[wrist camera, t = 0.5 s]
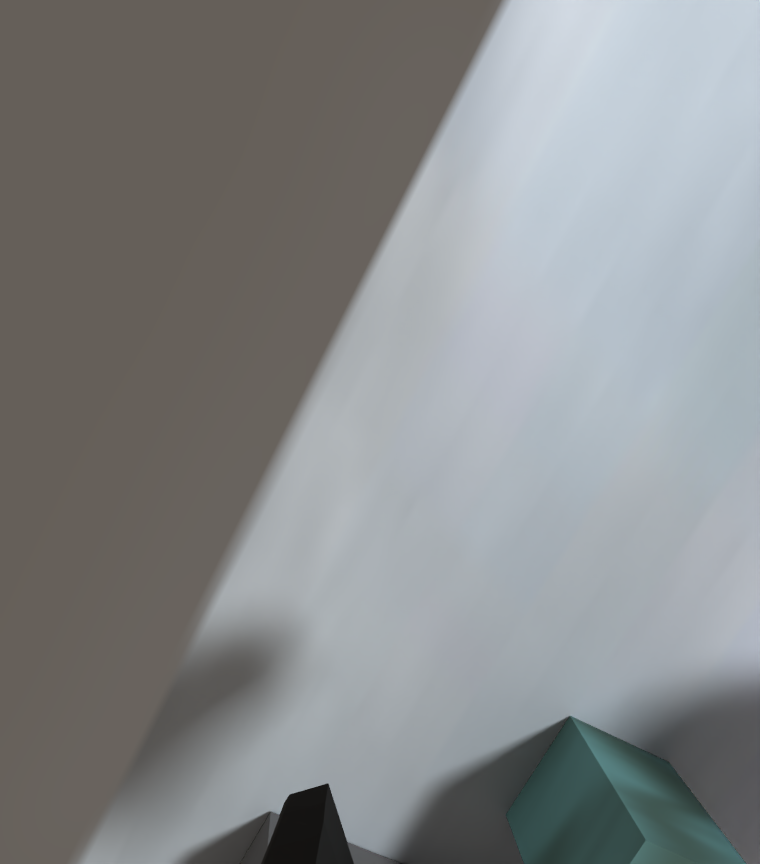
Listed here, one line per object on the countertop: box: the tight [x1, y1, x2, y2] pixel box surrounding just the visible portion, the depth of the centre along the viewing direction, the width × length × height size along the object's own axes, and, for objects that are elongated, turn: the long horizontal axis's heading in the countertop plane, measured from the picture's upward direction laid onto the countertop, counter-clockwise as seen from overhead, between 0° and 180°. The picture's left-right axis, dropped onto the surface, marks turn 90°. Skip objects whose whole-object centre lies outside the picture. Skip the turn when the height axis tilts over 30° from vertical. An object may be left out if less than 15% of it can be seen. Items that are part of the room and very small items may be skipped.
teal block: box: [506, 716, 746, 864], centre depth 19 cm, size 4×4×5 cm
